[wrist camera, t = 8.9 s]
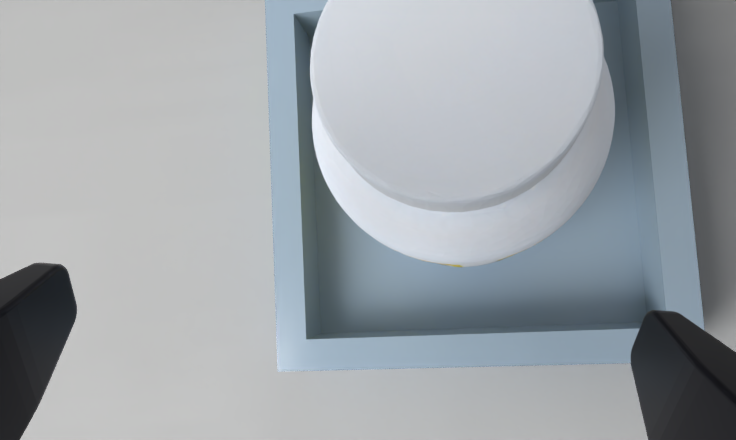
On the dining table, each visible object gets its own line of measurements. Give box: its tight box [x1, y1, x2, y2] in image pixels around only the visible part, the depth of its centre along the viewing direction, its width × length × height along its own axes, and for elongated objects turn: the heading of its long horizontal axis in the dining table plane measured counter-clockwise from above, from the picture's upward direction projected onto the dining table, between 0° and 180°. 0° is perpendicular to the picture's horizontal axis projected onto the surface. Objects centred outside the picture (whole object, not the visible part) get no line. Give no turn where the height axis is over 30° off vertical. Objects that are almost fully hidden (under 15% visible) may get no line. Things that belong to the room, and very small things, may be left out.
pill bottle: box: [310, 0, 615, 267], centre depth 15 cm, size 6×6×12 cm
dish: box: [265, 0, 705, 372], centre depth 20 cm, size 13×13×3 cm
